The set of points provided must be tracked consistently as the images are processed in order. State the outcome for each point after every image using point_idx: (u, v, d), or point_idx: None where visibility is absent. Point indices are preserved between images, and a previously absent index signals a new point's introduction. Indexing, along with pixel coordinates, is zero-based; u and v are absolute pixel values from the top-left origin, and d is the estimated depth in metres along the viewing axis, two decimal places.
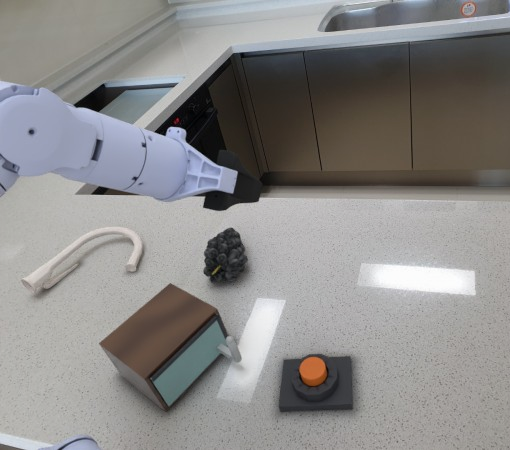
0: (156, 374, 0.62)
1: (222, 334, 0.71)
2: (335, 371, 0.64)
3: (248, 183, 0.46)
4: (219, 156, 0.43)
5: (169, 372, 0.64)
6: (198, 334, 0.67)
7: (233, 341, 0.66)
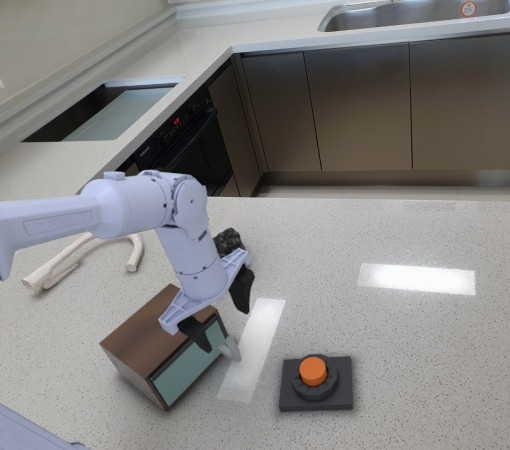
0: (156, 374, 0.62)
1: (222, 334, 0.71)
2: (335, 371, 0.64)
3: None
4: None
5: (169, 372, 0.64)
6: None
7: (233, 341, 0.66)
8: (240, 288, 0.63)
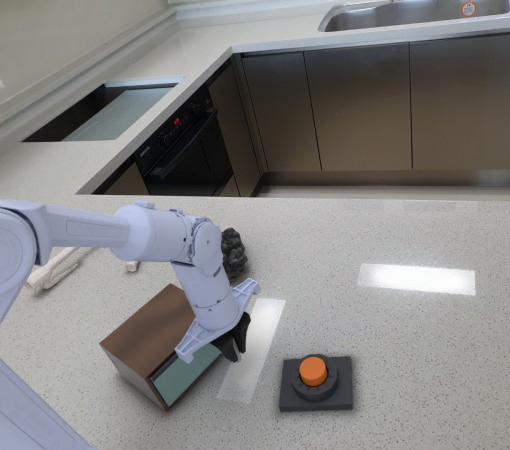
0: (156, 374, 0.62)
1: None
2: (335, 371, 0.64)
3: None
4: None
5: (169, 372, 0.64)
6: None
7: (233, 341, 0.66)
8: (236, 330, 0.64)
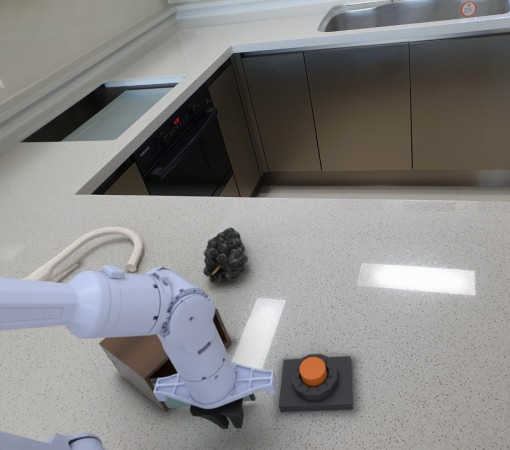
0: None
1: None
2: (335, 371, 0.64)
3: None
4: None
5: None
6: None
7: None
8: None
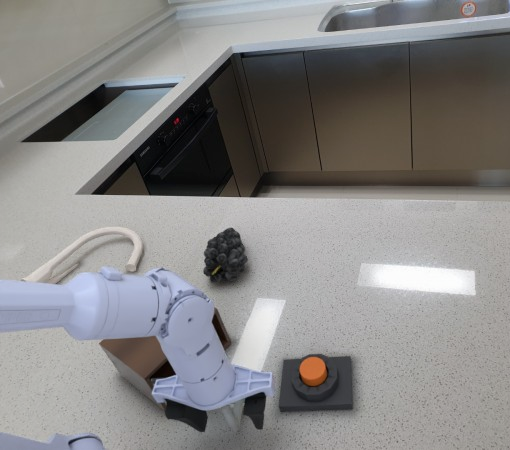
0: None
1: None
2: (335, 371, 0.64)
3: None
4: None
5: None
6: None
7: (226, 413, 0.57)
8: None
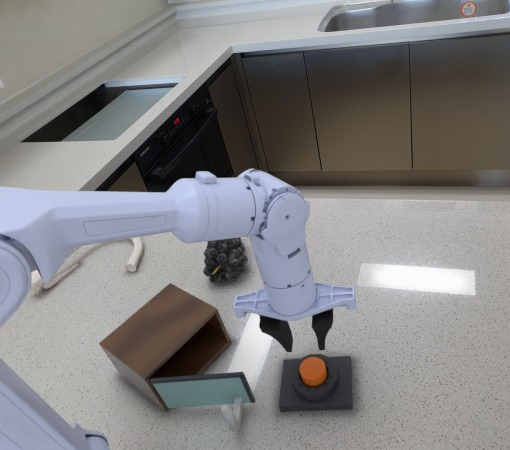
0: (157, 380, 0.62)
1: (245, 391, 0.62)
2: (335, 371, 0.64)
3: None
4: None
5: (171, 386, 0.62)
6: (212, 376, 0.60)
7: (226, 413, 0.57)
8: None
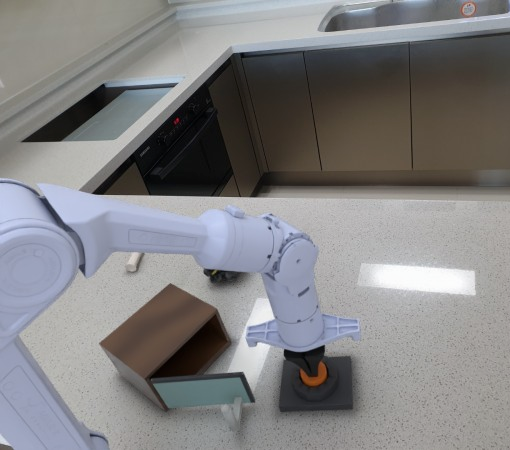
0: (157, 380, 0.62)
1: (245, 391, 0.62)
2: (335, 371, 0.64)
3: None
4: None
5: (171, 386, 0.62)
6: (212, 376, 0.60)
7: (226, 413, 0.57)
8: None
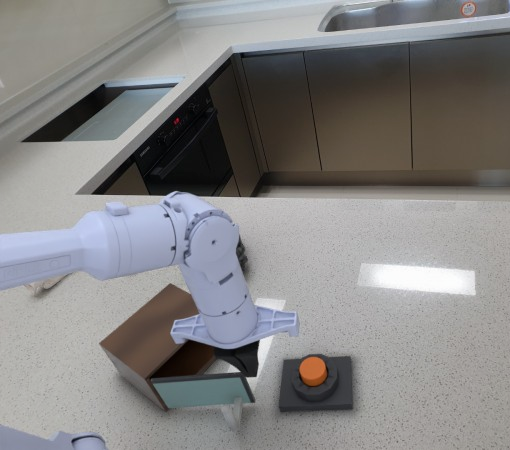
0: (157, 380, 0.62)
1: (245, 391, 0.62)
2: (335, 371, 0.64)
3: None
4: None
5: (171, 386, 0.62)
6: (212, 376, 0.60)
7: (226, 413, 0.57)
8: None
